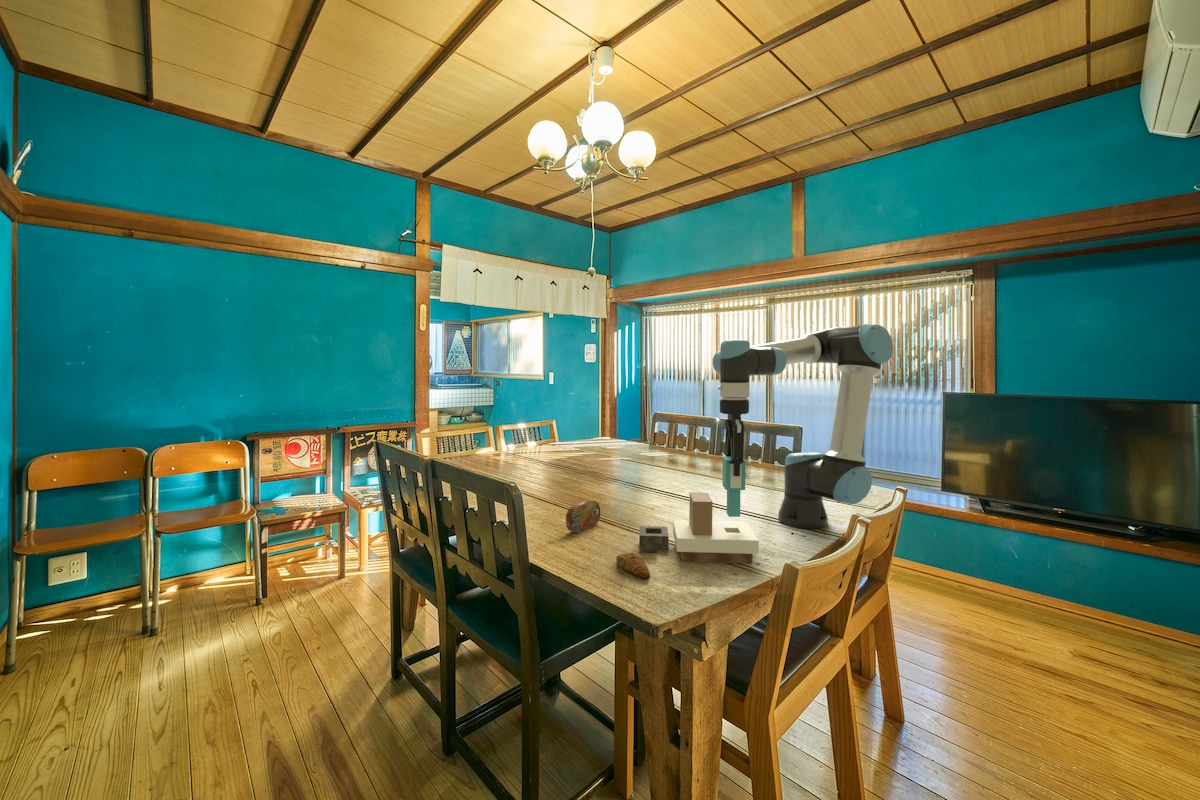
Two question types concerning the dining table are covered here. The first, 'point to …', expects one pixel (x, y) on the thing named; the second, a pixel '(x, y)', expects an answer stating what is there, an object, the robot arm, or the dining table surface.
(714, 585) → the dining table surface
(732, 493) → the teal block
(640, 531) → the holder
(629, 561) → the croissant
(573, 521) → the tin
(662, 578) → the dining table surface
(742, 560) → the brown wooden open box
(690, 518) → the lid
